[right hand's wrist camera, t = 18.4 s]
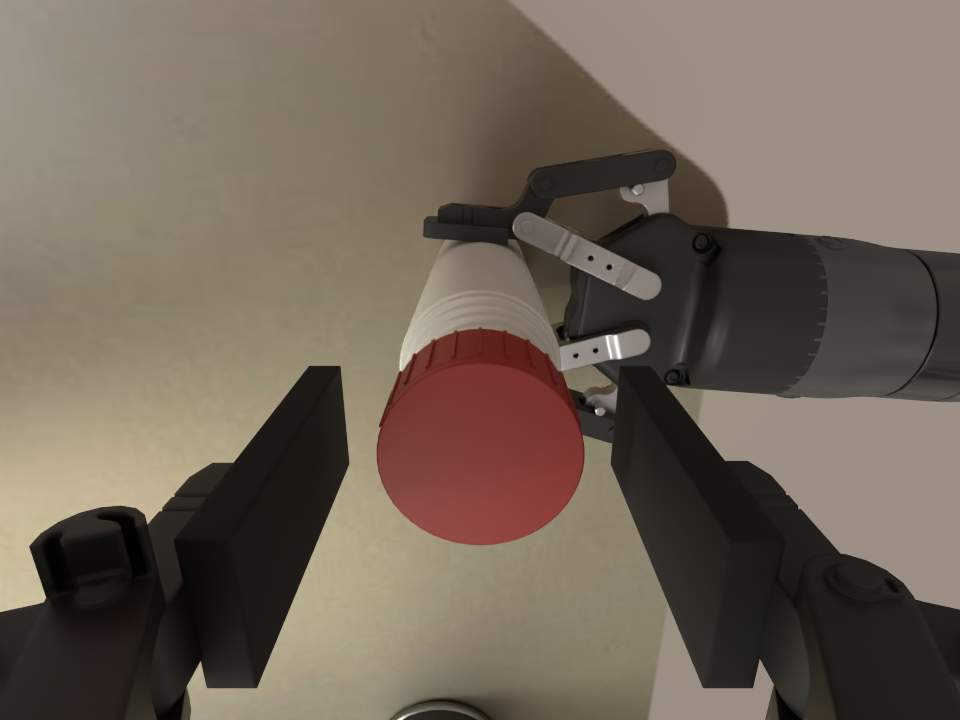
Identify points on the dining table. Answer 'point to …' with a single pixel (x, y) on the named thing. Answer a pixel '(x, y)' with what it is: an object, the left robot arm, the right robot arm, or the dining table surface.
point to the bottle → (480, 298)
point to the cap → (480, 438)
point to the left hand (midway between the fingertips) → (424, 286)
